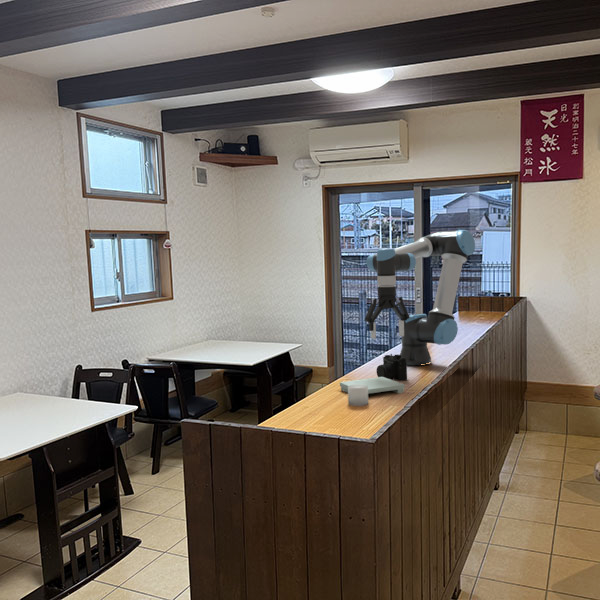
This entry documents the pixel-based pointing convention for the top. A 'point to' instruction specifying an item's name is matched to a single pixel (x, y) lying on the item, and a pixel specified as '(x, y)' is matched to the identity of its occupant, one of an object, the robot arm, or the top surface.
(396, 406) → the top surface
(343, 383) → the stand
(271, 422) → the top surface
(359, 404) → the grey rounded block
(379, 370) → the camera
